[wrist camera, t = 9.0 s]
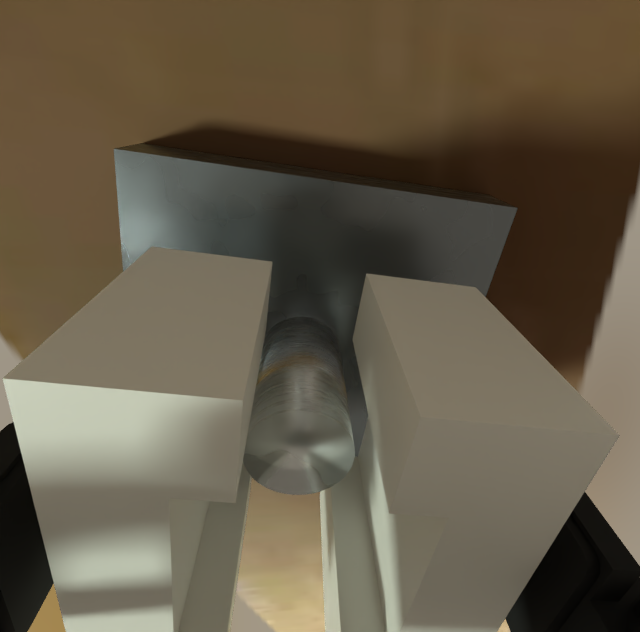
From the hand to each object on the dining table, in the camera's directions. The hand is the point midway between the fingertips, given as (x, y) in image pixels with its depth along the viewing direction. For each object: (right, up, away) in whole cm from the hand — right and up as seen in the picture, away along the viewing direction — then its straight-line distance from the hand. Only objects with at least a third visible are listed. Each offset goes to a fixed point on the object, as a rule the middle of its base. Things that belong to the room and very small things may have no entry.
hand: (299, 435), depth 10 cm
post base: (0, +3, +5) cm, 6 cm away
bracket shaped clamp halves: (0, +1, +1) cm, 1 cm away
